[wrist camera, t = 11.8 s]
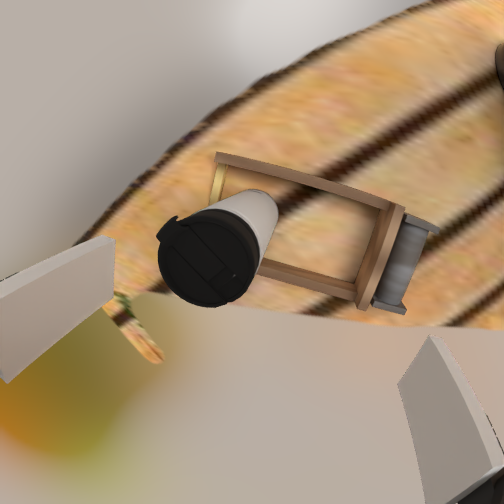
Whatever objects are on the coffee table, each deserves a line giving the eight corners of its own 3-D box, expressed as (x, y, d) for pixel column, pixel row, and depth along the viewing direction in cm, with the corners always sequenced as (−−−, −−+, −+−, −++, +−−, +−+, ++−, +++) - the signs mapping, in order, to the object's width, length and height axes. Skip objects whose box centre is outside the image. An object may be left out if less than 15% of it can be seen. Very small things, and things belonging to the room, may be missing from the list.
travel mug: (253, 176, 34) (196, 188, 15) (288, 216, 35) (276, 276, 16) (217, 209, 36) (133, 257, 17) (252, 247, 37) (202, 331, 18)
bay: (223, 152, 34) (211, 150, 29) (425, 215, 32) (442, 222, 27) (202, 248, 38) (188, 260, 33) (392, 302, 36) (402, 320, 31)
